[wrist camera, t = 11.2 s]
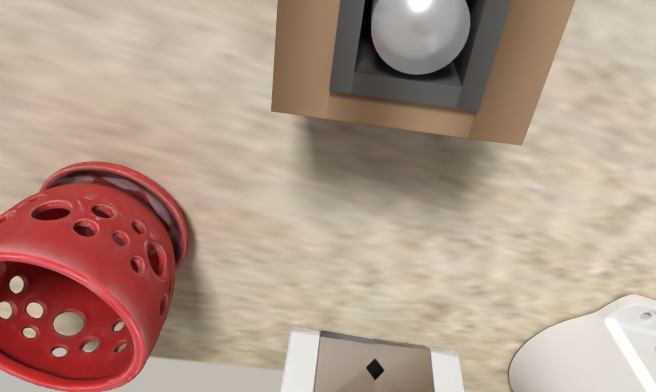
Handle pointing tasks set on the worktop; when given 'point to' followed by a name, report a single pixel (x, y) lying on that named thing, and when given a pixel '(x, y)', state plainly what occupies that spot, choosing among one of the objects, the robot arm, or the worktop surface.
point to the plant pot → (89, 275)
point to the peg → (419, 33)
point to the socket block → (423, 89)
